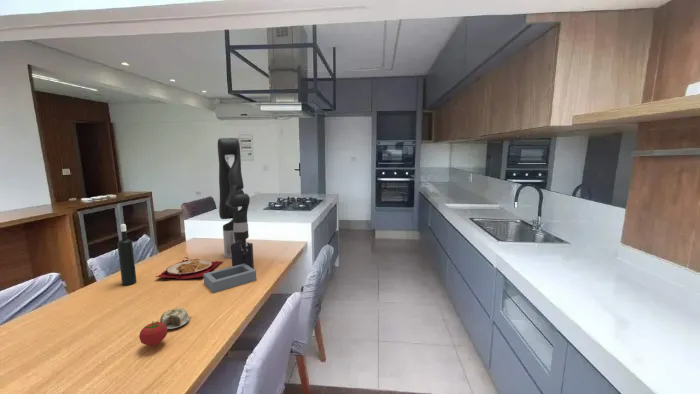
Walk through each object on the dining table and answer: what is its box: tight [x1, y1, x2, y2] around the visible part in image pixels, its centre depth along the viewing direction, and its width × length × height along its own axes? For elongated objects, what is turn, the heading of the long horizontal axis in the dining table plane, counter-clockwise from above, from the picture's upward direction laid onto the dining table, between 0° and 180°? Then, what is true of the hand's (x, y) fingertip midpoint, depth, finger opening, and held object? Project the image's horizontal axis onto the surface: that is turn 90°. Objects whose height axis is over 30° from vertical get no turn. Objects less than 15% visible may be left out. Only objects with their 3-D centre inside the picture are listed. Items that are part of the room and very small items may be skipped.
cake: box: [159, 307, 190, 330], centre depth 110 cm, size 10×10×5 cm
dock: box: [203, 263, 257, 294], centre depth 145 cm, size 14×21×5 cm, turn 132°
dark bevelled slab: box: [231, 242, 255, 270], centre depth 160 cm, size 11×4×15 cm, turn 90°
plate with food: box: [155, 256, 224, 280], centre depth 160 cm, size 24×26×3 cm
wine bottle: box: [117, 223, 137, 286], centre depth 143 cm, size 6×6×30 cm
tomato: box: [138, 320, 169, 347], centre depth 97 cm, size 8×8×8 cm
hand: (242, 258), depth 160 cm, fingers open, 8 cm apart
